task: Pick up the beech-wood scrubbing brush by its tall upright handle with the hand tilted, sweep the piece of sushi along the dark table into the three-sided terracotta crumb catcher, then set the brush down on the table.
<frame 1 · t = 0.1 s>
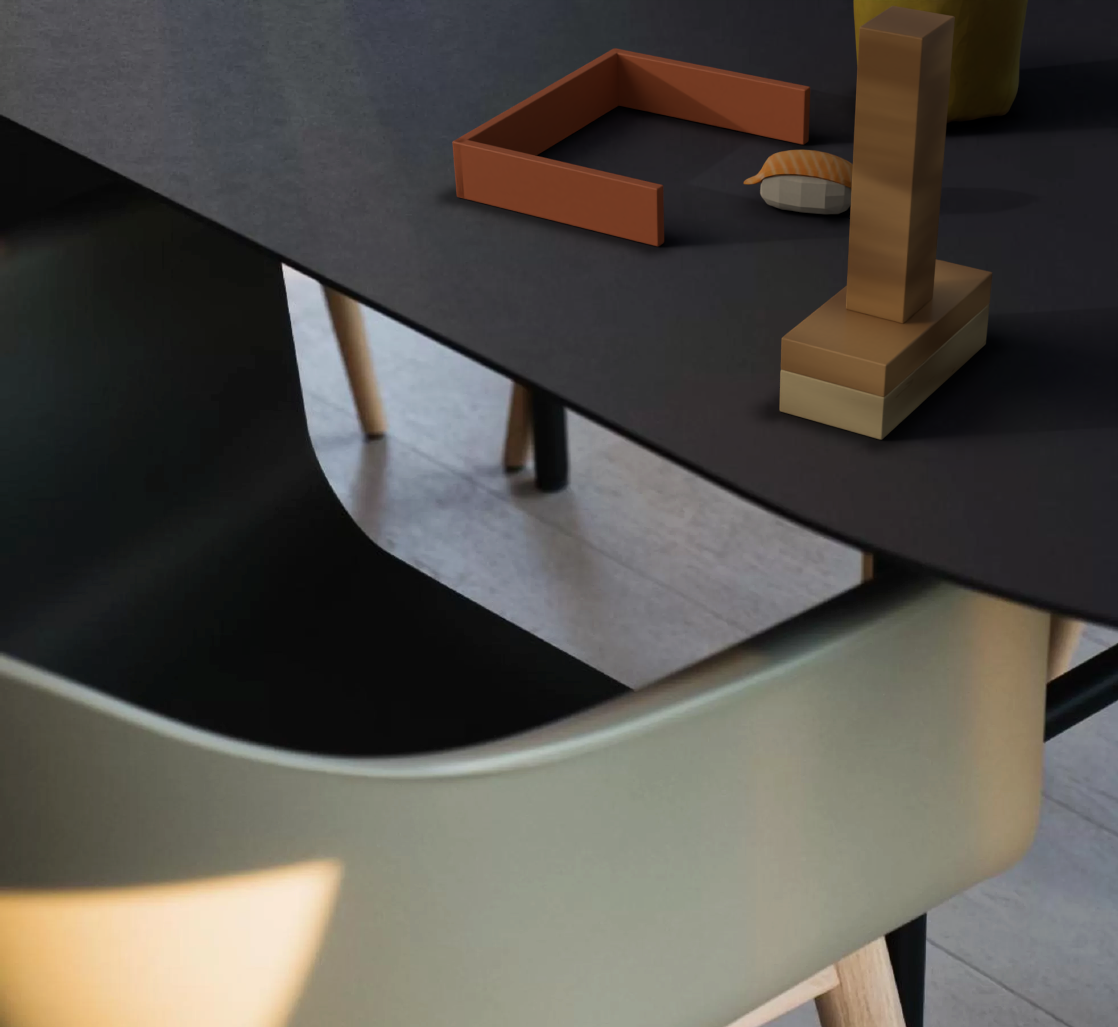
sushi: (804, 211, 105), on the table
mug: (937, 97, 116), on the table
brush: (884, 377, 91), on the table
catcher: (640, 170, 109), on the table
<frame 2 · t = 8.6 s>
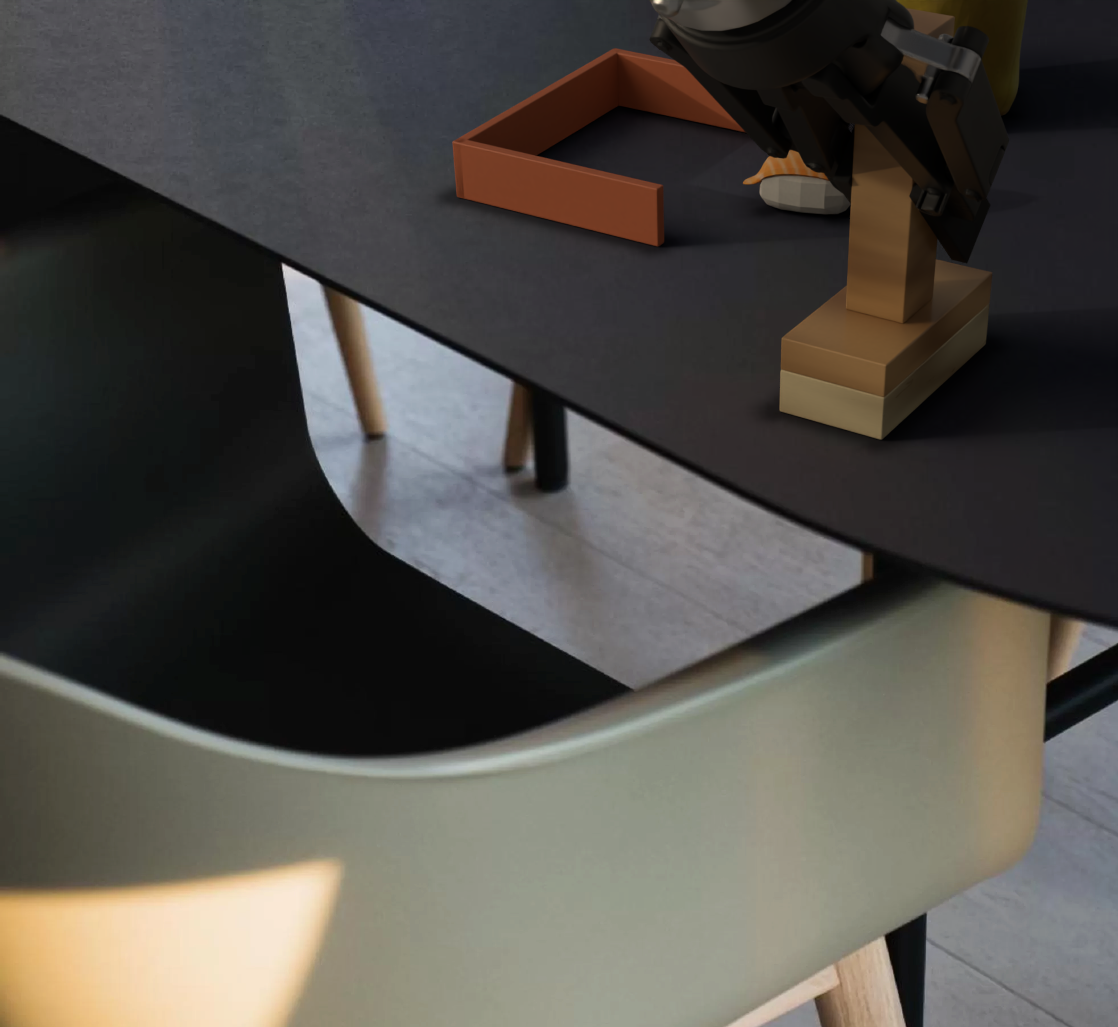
hand: (933, 223, 90), 6 cm above the table, tool tilted 45°, fingers closed on brush, 3 cm apart
brush: (884, 377, 91), on the table, touching gripper
everything else where it was.
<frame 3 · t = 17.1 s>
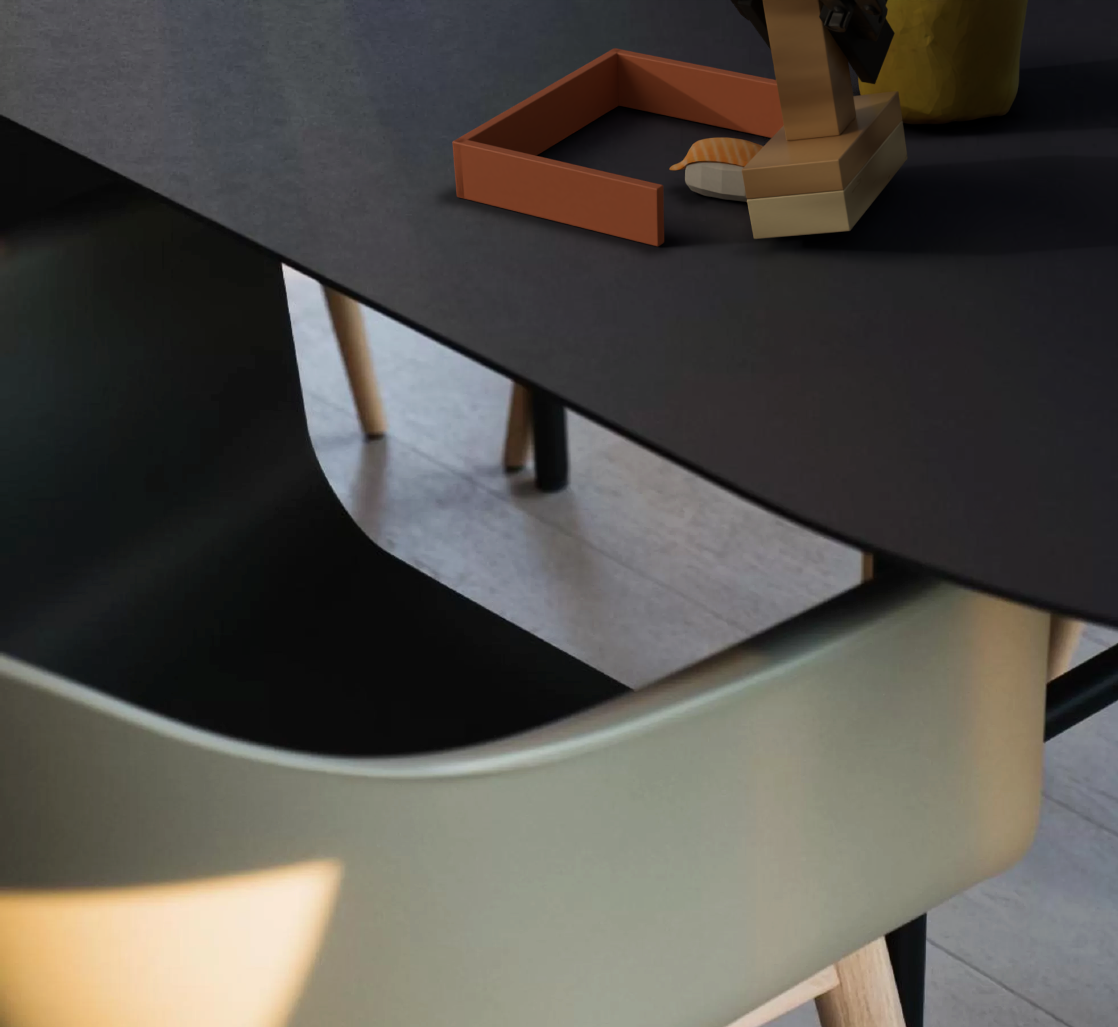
hand: (837, 50, 103), 7 cm above the table, tool tilted 45°, fingers closed on brush, 4 cm apart
sushi: (727, 198, 107), on the table, touching brush
brush: (832, 198, 103), point 1 cm above the table, tilted 13°, touching gripper, sushi
everything else where it was.
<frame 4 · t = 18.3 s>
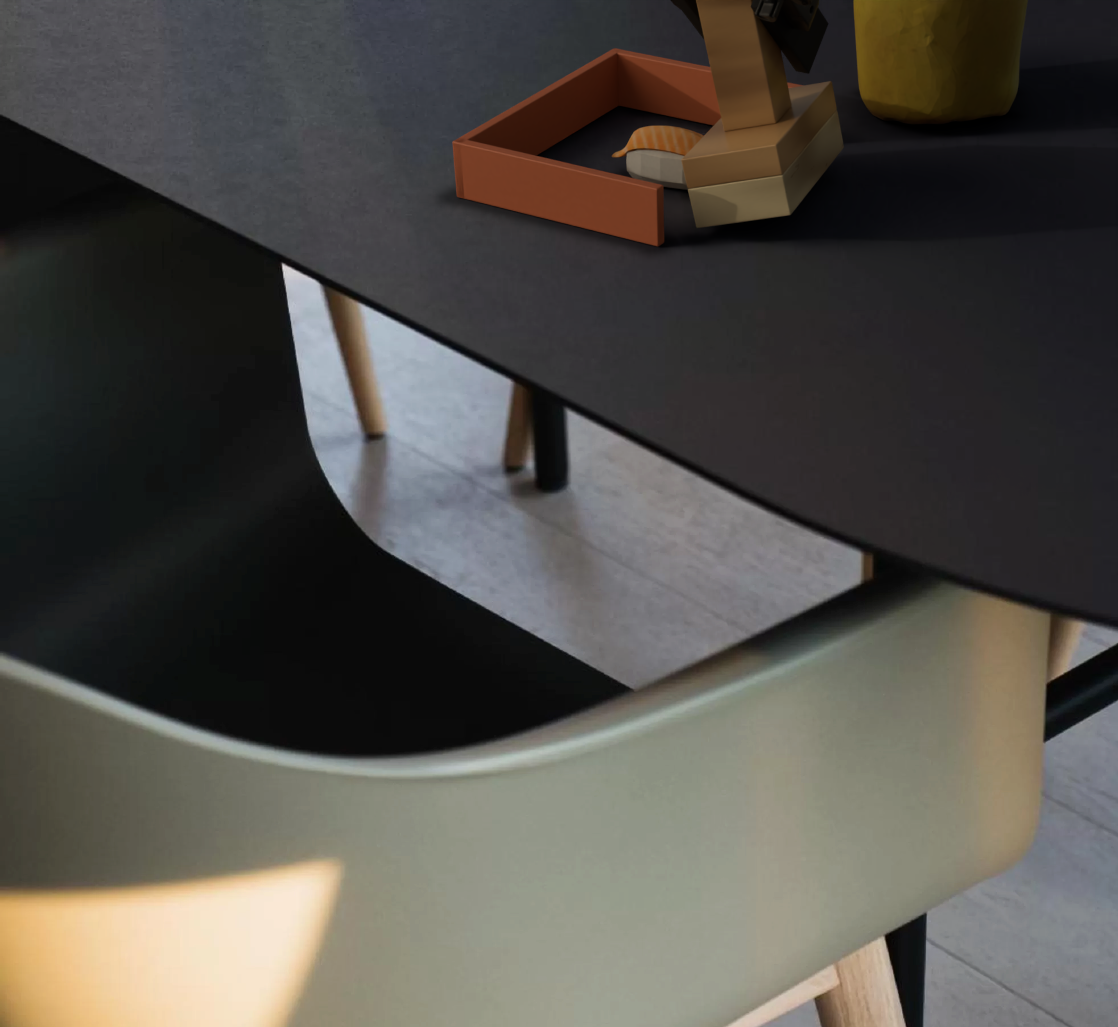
hand: (771, 39, 105), 7 cm above the table, tool tilted 45°, fingers closed on brush, 4 cm apart
sushi: (668, 185, 108), on the table, touching brush
brush: (772, 187, 105), point 1 cm above the table, tilted 15°, touching gripper, sushi
everything else where it was.
when the fingers open (6 cm above the table, at t = 21.0 s): brush stays where it is, on the table.
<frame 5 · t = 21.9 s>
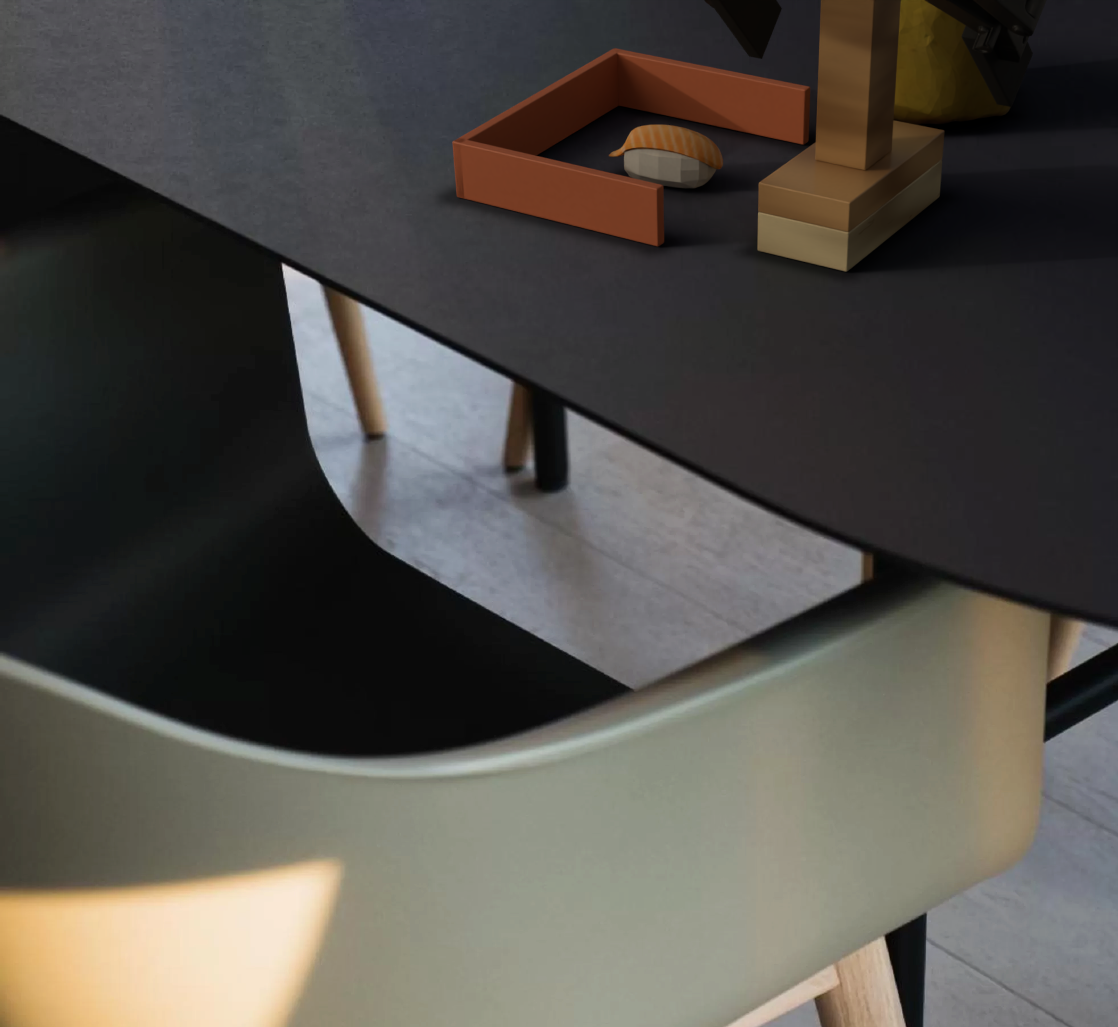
hand: (886, 55, 100), 7 cm above the table, tool tilted 45°, fingers open, 13 cm apart
sushi: (666, 184, 108), on the table
brush: (850, 223, 103), on the table
everything else where it was.
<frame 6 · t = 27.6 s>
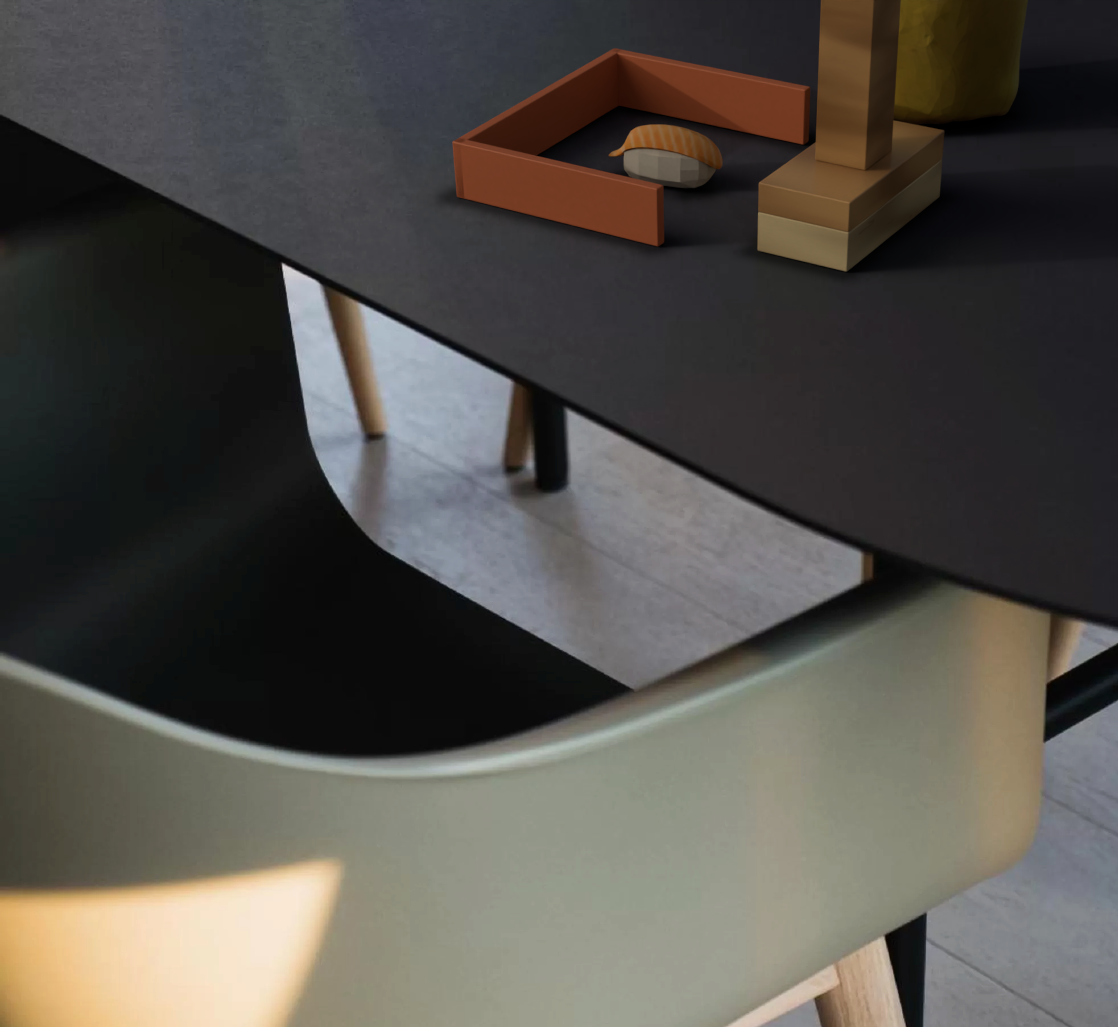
nothing on the table moved.
at the end: sushi inside the target area on the catcher (2.6 cm from its centre), point 0.0 cm above the catcher's base; brush moved 16.2 cm from its start; the gripper is holding nothing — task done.
